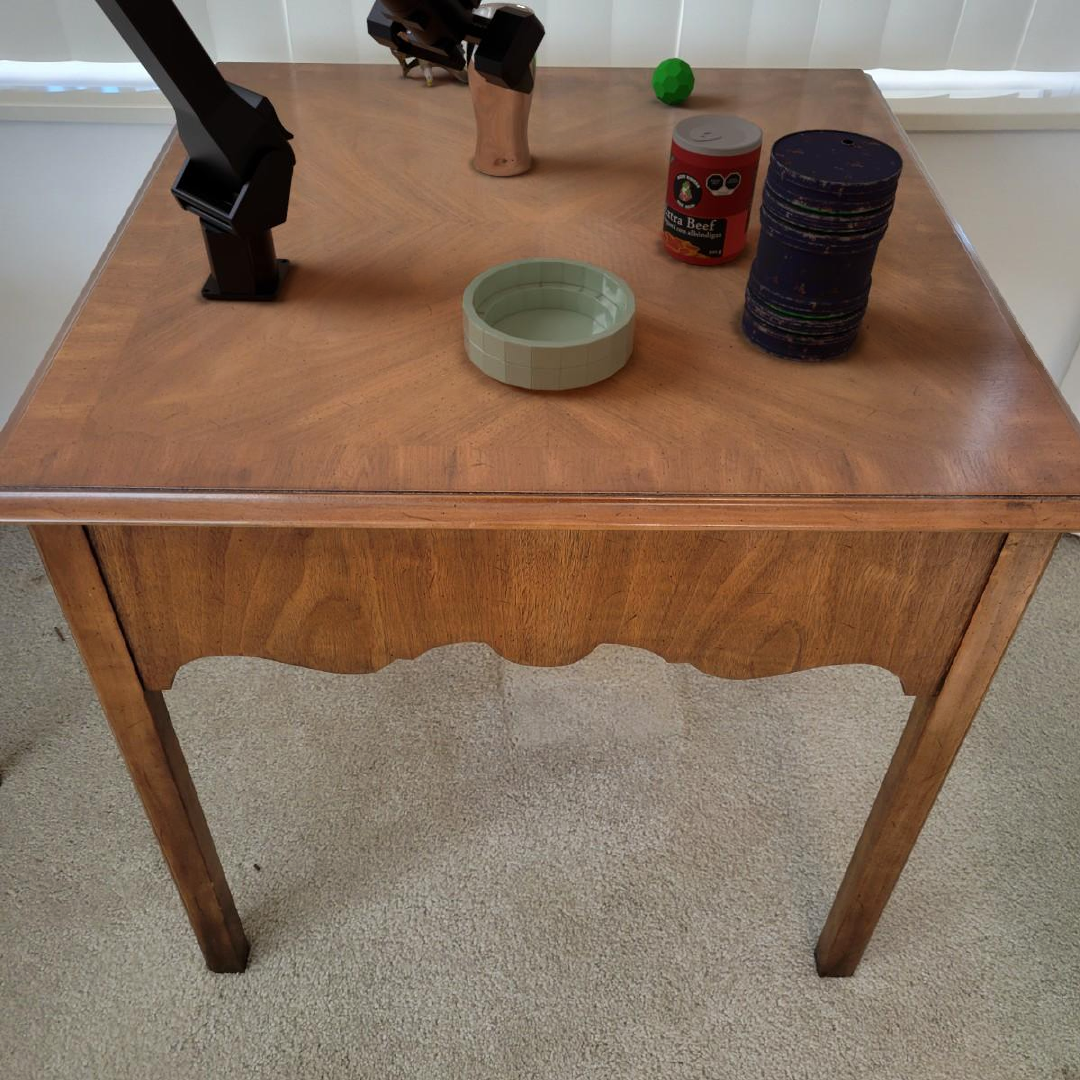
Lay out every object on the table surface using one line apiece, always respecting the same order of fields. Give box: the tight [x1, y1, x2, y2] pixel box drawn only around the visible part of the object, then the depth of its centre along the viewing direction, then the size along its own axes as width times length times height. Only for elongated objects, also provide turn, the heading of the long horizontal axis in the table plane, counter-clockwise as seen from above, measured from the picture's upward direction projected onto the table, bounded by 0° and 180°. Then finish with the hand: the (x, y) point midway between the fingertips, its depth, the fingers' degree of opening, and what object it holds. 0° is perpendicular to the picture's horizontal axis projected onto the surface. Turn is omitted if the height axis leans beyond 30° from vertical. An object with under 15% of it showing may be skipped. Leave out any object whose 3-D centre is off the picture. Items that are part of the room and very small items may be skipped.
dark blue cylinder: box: [740, 128, 904, 363], centre depth 81 cm, size 10×10×15 cm
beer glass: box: [465, 2, 537, 177], centre depth 104 cm, size 7×7×15 cm
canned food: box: [661, 113, 764, 266], centre depth 92 cm, size 8×8×11 cm
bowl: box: [461, 256, 637, 391], centre depth 82 cm, size 14×14×4 cm
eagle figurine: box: [389, 42, 469, 87], centre depth 124 cm, size 8×7×9 cm
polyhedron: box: [651, 57, 696, 106], centre depth 120 cm, size 5×5×5 cm
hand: (496, 77), depth 102 cm, fingers open, 9 cm apart
